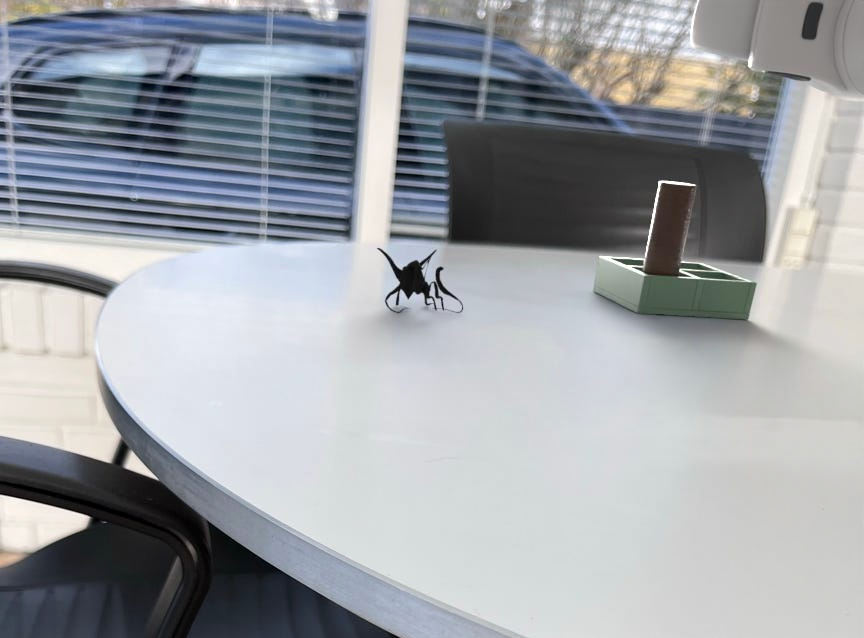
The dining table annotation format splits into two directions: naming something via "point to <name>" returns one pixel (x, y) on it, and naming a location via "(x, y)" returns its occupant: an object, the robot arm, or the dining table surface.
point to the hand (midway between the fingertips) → (776, 36)
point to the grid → (675, 289)
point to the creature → (416, 282)
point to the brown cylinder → (669, 228)
